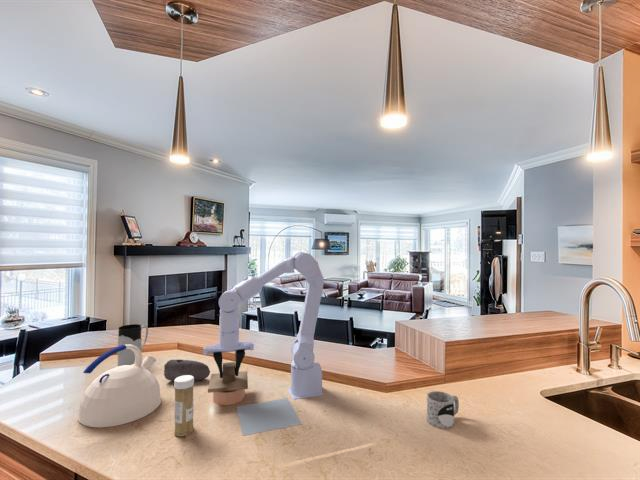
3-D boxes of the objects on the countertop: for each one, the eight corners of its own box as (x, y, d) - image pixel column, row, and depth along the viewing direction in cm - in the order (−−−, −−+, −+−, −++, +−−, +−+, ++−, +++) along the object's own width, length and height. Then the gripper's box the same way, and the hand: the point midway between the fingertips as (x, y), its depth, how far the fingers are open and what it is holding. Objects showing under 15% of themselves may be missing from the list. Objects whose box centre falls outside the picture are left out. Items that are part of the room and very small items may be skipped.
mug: (441, 431, 82) (441, 405, 82) (421, 419, 88) (421, 394, 88) (468, 422, 87) (468, 396, 87) (448, 410, 93) (448, 386, 93)
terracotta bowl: (242, 390, 105) (242, 377, 105) (246, 403, 96) (246, 389, 96) (212, 394, 102) (212, 382, 102) (213, 408, 93) (213, 394, 93)
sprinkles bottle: (195, 433, 81) (195, 379, 81) (175, 439, 79) (176, 383, 79) (191, 425, 85) (191, 372, 85) (172, 430, 82) (172, 376, 83)
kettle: (177, 399, 99) (178, 339, 99) (108, 436, 80) (109, 362, 80) (132, 387, 107) (133, 332, 108) (60, 417, 89) (61, 350, 89)
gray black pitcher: (110, 369, 122) (110, 329, 122) (137, 356, 136) (138, 320, 136) (131, 371, 121) (131, 330, 121) (156, 357, 135) (157, 321, 135)
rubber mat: (287, 399, 99) (287, 398, 99) (302, 425, 85) (302, 423, 85) (236, 408, 94) (236, 406, 94) (242, 437, 79) (242, 435, 79)
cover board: (247, 374, 106) (247, 357, 106) (247, 388, 95) (247, 369, 95) (211, 377, 103) (211, 359, 103) (207, 392, 93) (207, 373, 93)
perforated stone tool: (212, 377, 115) (212, 357, 115) (207, 383, 110) (207, 363, 110) (169, 377, 115) (169, 357, 115) (162, 383, 110) (162, 362, 110)
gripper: (251, 325, 106) (251, 367, 105) (203, 329, 101) (203, 374, 100) (254, 331, 99) (254, 376, 99) (203, 335, 94) (203, 383, 94)
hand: (228, 375), depth 99 cm, fingers closed on cover board, 4 cm apart
